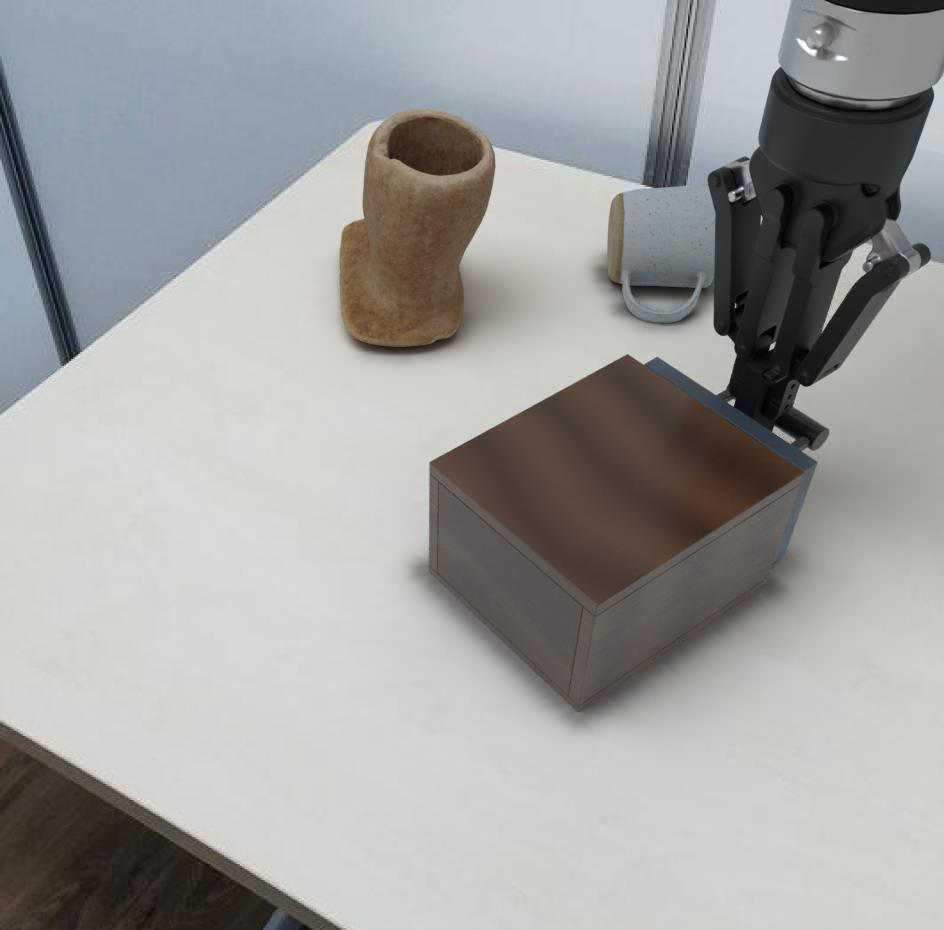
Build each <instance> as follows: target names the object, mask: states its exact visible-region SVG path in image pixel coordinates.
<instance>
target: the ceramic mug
mask: <svg viewBox="0 0 944 930" xmlns="http://www.w3.org/2000/svg"><path fill="white" fill-rule="evenodd" d="M606 241H607V245H606V247H607V248H606V266H607V268H606V269H607V275H608V277H609V279H610V280H611V281H612V282H613V283H616V284H619V285H620V284H621V285H622V289H621V291H622V296H623V299H624V303H625V305H626V307H627V309H628V311H629V312H630V313H631V314H632V315H633V316H634V317H636V318H637V319H640V320H642V321H644V322H649V323H656V324H670V323H676V322H679V321H681V320H683V319H684V318H685V317H687V316H688V315H689V314H690V313H691V312H692V311H693V309H694V308H695V306H696V304H697V303H698V300H699V297H700V294H701V291H702V289H704V288H706V289H707V288H709V287H710V286H711V285H712V283H713V282H714V263H715V210H714V206H713V202H712V198H711V194H710V190H709V186H708V183H704V184H703V183H702V184H693V185H692V184H691V185H679V186H666V187H665V186H664V187H650V188H637V189H631V190H628V191H627V190H626V191H624V192H621V193H617V194H616V195H615V196H614V197H613V199H612V200H611V202H610V208H609V215H608V225H607V240H606ZM631 286H632V287H633V286H634V287H638V286H639V287H641V286H642V287H644V286H645V287H646V286H647V287H649V286H651V287H653V286H655V287H668V288H671V287H673V288H692V289H693V288H694V291H693V294H692V295H691V296H690V298H689V299H688V300H687V301H686V302H685V303H683V304H682V305H681V306H679V307H678V308H676V309H673V310H672V311H666V312H665V311H658V310H657V311H656V310H653V309H651V308H648V307H645V306H644V305H643V304H641V303H639V302H638V301H637V300H636V299H635V297H634V295H633V293H632V289H631Z"/></svg>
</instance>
